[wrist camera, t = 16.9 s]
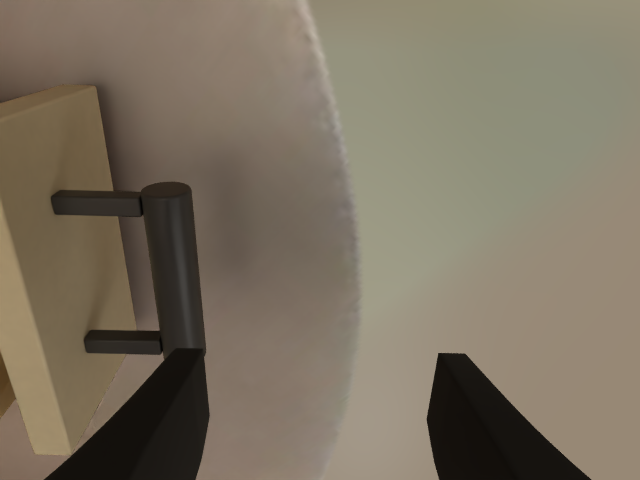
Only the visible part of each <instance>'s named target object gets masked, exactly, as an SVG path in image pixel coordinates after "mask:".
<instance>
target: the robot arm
mask: <svg viewBox="0 0 640 480" xmlns="http://www.w3.org/2000/svg"><path fill="white" fill-rule="evenodd" d="M209 416H210V415H209V404H208V394H207V383H206V373H205V362H204V352H203V348H175V349H174V350H173V351H172V352H171V353H170V354H169V355H168V357H167V358H166V359H165V360H164V361H163V362H162V363H161V365H160V366H159V367H158V368H157V369H156V370H155V371H154V372H153V374H152V375H151V376H150V377H149V378H148V379H147V380H146V381H145V382H144V384H143V385H142V386H141V387H140V388H139V389H138V390H137V391H136V392H135V393H134V394H133V396H132V397H131V398H130V399H129V400H128V401H127V402H126V403H125V404H124V405H123V406H122V407H121V408H120V409H119V410H118V411H117V412H116V413H115V414H114V415H113V416H112V417H111V418H110V419H109V420H108V421H107V422H106V423H105V424H104V425H103V426H102V427H101V428H100V429H99V430H98V431H97V432H96V433H95V434H94V435H93V436H92V437H91V438H90V439H89V440H88V441H87V442H86V443H85V444H84V445H82V446H81V447H80V448H79V449H78V450H77V451H76V452H75V453H74V454H73V455H72V456H71V457H70V458H68V459H67V460H66V461H65V462H64V463H63V464H62V465H61V466H59V467H58V468H57V469H56V470H55V471H54V472H52V473H51V474H50V475H49V476H48V477H47V478H45V479H44V480H195V479H196V476H197V473H198V469H199V466H200V462H201V459H202V454H203V449H204V444H205V438H206V433H207V427H208V422H209ZM427 424H428V430H429V436H430V442H431V447H432V452H433V458H434V463H435V466H436V470H437V473H438V476H439V480H591V479H590V478H589V477H587V475H585V474H584V473H583V472H582V471H581V470H580V469H578V468H577V467H576V466H575V465H574V464H573V463H572V462H570V461H569V460H568V459H567V458H566V457H565V456H564V455H563V454H562V453H561V452H560V451H558V449H556V448H555V447H554V446H553V445H552V444H551V443H550V442H549V441H548V440H547V439H546V438H545V437H544V436H543V435H542V434H541V433H540V432H538V431H537V430H536V429H535V428H534V427H533V426H532V425H531V424H530V422H528V420H526V418H525V417H524V416H523V415H522V414H521V413H520V412H519V411H518V410H517V409H516V408H515V407H514V406H513V405H512V404H511V403H510V402H509V401H508V400H507V399H506V398H505V397H504V395H503V394H502V393H501V392H500V391H499V390H498V389H497V388H496V387H495V386H494V385H493V384H492V383H491V381H490V380H489V379H488V378H487V377H486V376H485V375H484V374H483V373H482V372H481V371H480V369H479V368H478V367H477V366H476V365H475V364H474V363H473V362H472V361H471V360H470V358H469V357H468V356H467V355H466V354H458V353H453V354H452V353H438V358H437V364H436V370H435V375H434V381H433V387H432V392H431V398H430V403H429V409H428V415H427Z"/></svg>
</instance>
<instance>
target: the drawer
mask: <svg viewBox="0 0 640 480" xmlns="http://www.w3.org/2000/svg"><path fill="white" fill-rule="evenodd" d="M142 215H144V222H145V229H146V236H147V243H148V250H149V257H150V264H151V271H152V278H153V285H154V293H155V300H156V307H157V314H158V321H159V328H160V331H139V330H137V328H136V322H135V316H134V310H133V304H132V298H131V292H130V286H129V280H128V274H127V268H126V262H125V256H124V250H123V244H122V238H121V232H120V227H119V221H118V216H122V217H141V216H142ZM175 348H203V352H204V356H205V354H206V342H205V331H204V321H203V310H202V299H201V288H200V277H199V266H198V255H197V244H196V234H195V223H194V212H193V201H192V190H191V188H190V186H188V185H187V184H184V183H179V182H160V183H155V184H151V185H148V186H146V187H144V188H143V189H142V190H141V192H126V191H113V185H112V179H111V173H110V167H109V161H108V155H107V149H106V143H105V137H104V131H103V125H102V119H101V114H100V108H99V102H98V96H97V90H96V87H95V86H93V85H65V84H62V85H59V86H56V87H53V88H49V89H46V90H43V91H39V92H36V93H33V94H29V95H26V96H23V97H20V98H16V99H13V100H10V101H6V102H3V103H0V418H1V417H2V416H3V414H4V413H5V412H6V411H7V409H8V408H9V407H10V405H11V404H12V403H13V401H14V400H15V399H16V400H17V403H18V406H19V409H20V412H21V415H22V418H23V421H24V424H25V427H26V430H27V433H28V436H29V439H30V442H31V445H32V449H33V452H34V454H36V455H71V454H72V453H73V451H74V449H75V447H76V445H77V444H78V442H79V440H80V438H81V436H82V434H83V433H84V431H85V429H86V427H87V425H88V423H89V422H90V420H91V418H92V416H93V414H94V413H95V411H96V409H97V407H98V405H99V403H100V402H101V400H102V398H103V396H104V394H105V392H106V391H107V389H108V387H109V385H110V383H111V381H112V380H113V378H114V376H115V374H116V372H117V370H118V369H119V367H120V365H121V363H122V361H123V359H124V358H125V356H126V354H148V355H160V354H162V351H163V356H164V360H165V359H166V358H167V357H168V355H169V354H170V353H171V352H172V351H173V350H174V349H175Z"/></svg>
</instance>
